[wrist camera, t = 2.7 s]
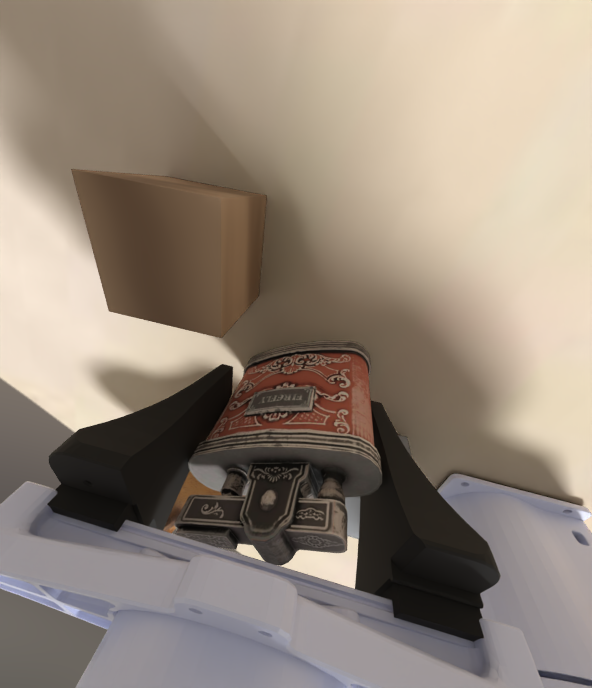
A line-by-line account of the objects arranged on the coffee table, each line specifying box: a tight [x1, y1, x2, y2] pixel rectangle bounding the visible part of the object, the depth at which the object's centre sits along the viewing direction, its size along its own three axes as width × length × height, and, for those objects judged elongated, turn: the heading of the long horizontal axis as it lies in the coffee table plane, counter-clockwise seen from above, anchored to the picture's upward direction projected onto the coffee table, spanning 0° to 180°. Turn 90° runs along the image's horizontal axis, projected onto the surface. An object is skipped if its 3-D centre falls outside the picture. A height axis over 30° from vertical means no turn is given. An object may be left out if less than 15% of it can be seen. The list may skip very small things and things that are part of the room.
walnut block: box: [71, 169, 267, 338], centre depth 11 cm, size 5×5×5 cm
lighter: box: [174, 341, 382, 566], centre depth 12 cm, size 8×3×10 cm, turn 107°
